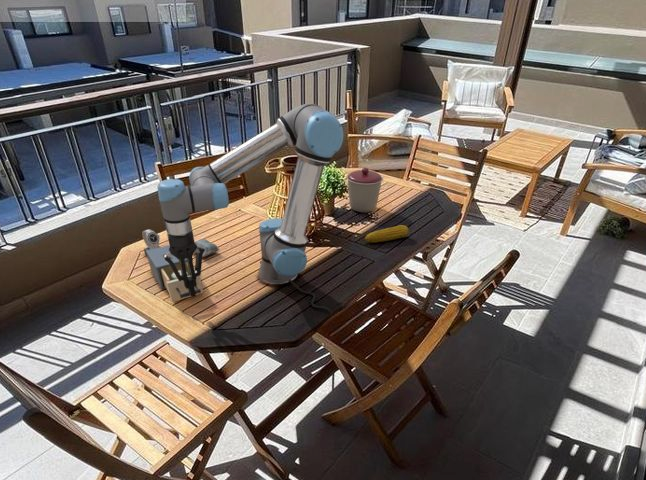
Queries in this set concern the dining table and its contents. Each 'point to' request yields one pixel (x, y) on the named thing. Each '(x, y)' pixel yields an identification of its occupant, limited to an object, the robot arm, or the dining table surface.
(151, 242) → the watch
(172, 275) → the votive
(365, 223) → the dining table surface
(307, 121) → the robot arm
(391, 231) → the food
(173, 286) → the drawer
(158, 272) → the cabinet
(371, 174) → the canister
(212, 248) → the packaged food
